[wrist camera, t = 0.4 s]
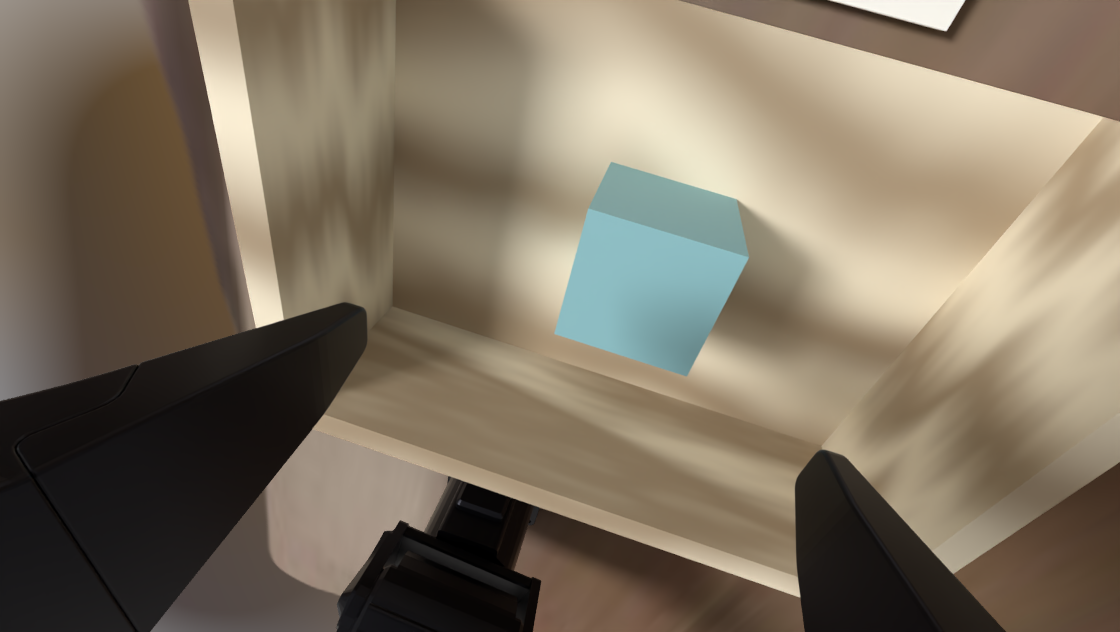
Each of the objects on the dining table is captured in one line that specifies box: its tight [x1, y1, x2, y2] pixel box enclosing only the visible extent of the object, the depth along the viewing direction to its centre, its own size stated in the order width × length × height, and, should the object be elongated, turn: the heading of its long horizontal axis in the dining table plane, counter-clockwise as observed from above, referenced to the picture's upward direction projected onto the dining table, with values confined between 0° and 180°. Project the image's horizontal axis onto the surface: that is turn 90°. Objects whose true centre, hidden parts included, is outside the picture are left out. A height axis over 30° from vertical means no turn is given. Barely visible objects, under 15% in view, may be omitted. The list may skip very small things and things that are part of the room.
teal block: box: [554, 162, 749, 377], centre depth 18 cm, size 5×5×5 cm
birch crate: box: [188, 0, 1120, 597], centre depth 17 cm, size 17×25×8 cm
